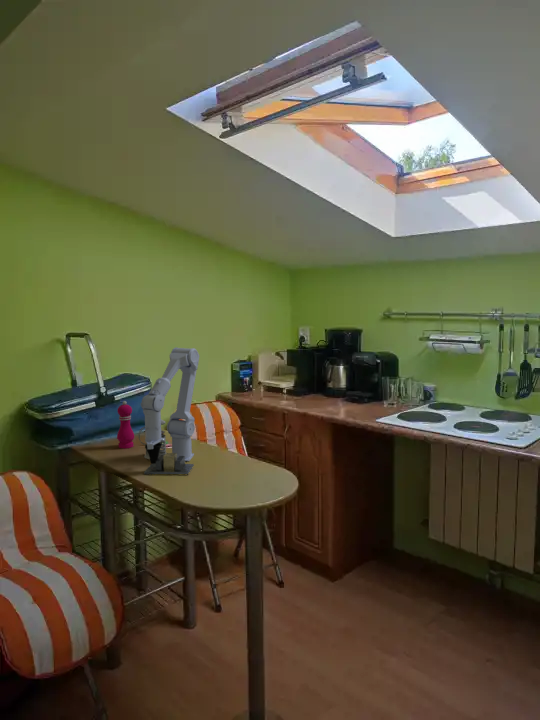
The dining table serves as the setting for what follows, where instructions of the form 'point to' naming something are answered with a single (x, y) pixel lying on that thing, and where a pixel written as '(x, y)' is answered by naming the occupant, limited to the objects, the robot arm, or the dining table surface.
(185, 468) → the vise
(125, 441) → the pepper mill
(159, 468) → the sliding jaw
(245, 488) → the dining table surface
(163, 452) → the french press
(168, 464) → the brass block
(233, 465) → the dining table surface
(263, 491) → the dining table surface
